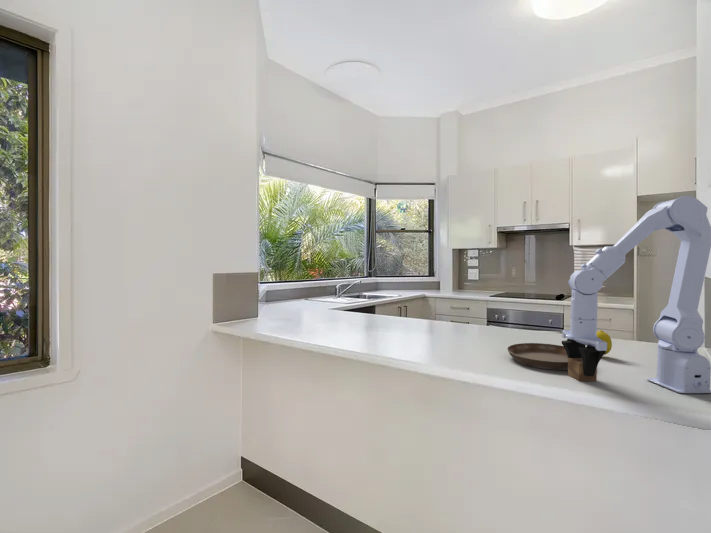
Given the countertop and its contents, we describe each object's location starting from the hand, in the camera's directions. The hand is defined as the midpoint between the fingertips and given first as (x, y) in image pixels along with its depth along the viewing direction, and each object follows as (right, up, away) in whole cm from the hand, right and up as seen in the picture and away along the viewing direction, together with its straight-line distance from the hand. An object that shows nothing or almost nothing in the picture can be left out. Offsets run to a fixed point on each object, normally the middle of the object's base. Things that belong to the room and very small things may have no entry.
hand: (581, 372), depth 96 cm
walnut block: (0, -2, 0) cm, 2 cm away
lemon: (+18, -1, +21) cm, 28 cm away
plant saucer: (-2, -1, +15) cm, 15 cm away
